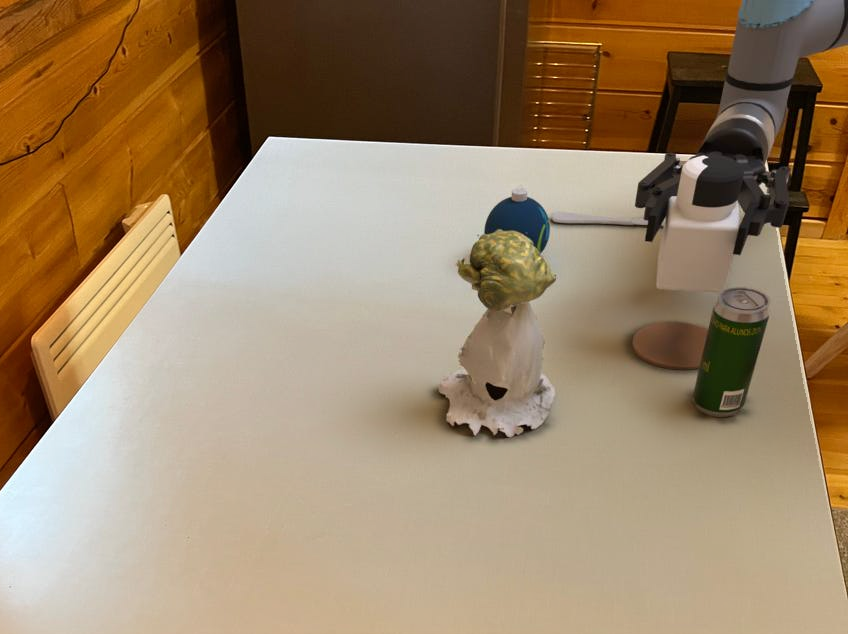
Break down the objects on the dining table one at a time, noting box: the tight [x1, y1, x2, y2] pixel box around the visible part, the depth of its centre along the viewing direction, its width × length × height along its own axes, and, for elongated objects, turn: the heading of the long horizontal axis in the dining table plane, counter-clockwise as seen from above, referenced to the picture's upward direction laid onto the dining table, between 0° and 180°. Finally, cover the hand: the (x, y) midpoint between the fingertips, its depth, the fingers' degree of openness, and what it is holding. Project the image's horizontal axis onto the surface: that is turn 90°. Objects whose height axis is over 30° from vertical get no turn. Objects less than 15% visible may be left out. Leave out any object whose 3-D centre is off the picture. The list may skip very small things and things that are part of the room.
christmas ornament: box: [483, 184, 551, 255], centre depth 123 cm, size 8×8×10 cm
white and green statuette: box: [438, 229, 557, 438], centre depth 98 cm, size 12×13×18 cm
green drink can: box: [692, 286, 772, 418], centre depth 98 cm, size 5×5×12 cm
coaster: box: [631, 321, 708, 371], centre depth 111 cm, size 10×10×1 cm
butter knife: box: [550, 211, 665, 227], centre depth 133 cm, size 1×24×3 cm
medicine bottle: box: [656, 155, 744, 294], centre depth 100 cm, size 7×7×12 cm
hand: (694, 235), depth 97 cm, fingers closed on medicine bottle, 8 cm apart
